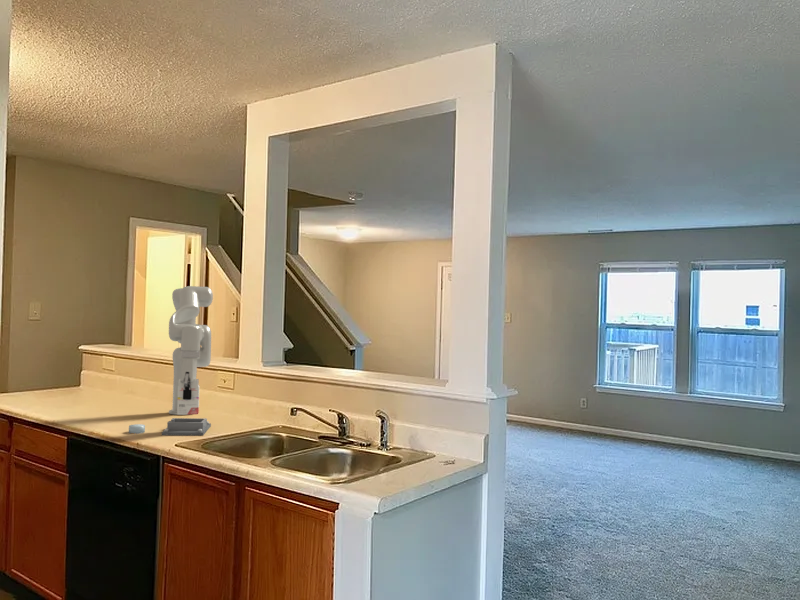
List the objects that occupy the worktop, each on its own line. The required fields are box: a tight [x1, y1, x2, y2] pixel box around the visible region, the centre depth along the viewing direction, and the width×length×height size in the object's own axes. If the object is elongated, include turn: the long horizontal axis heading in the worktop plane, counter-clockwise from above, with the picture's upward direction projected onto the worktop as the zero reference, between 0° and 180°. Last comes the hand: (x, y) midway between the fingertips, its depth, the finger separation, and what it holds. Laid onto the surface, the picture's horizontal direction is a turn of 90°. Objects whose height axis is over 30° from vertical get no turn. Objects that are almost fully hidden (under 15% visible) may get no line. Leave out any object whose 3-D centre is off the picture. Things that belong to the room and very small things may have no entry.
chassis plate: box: [161, 417, 212, 437], centre depth 262 cm, size 20×16×4 cm
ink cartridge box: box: [176, 378, 200, 416], centre depth 263 cm, size 9×5×15 cm, turn 105°
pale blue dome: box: [128, 423, 146, 435], centre depth 256 cm, size 6×6×3 cm
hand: (188, 397), depth 263 cm, fingers closed on ink cartridge box, 5 cm apart
